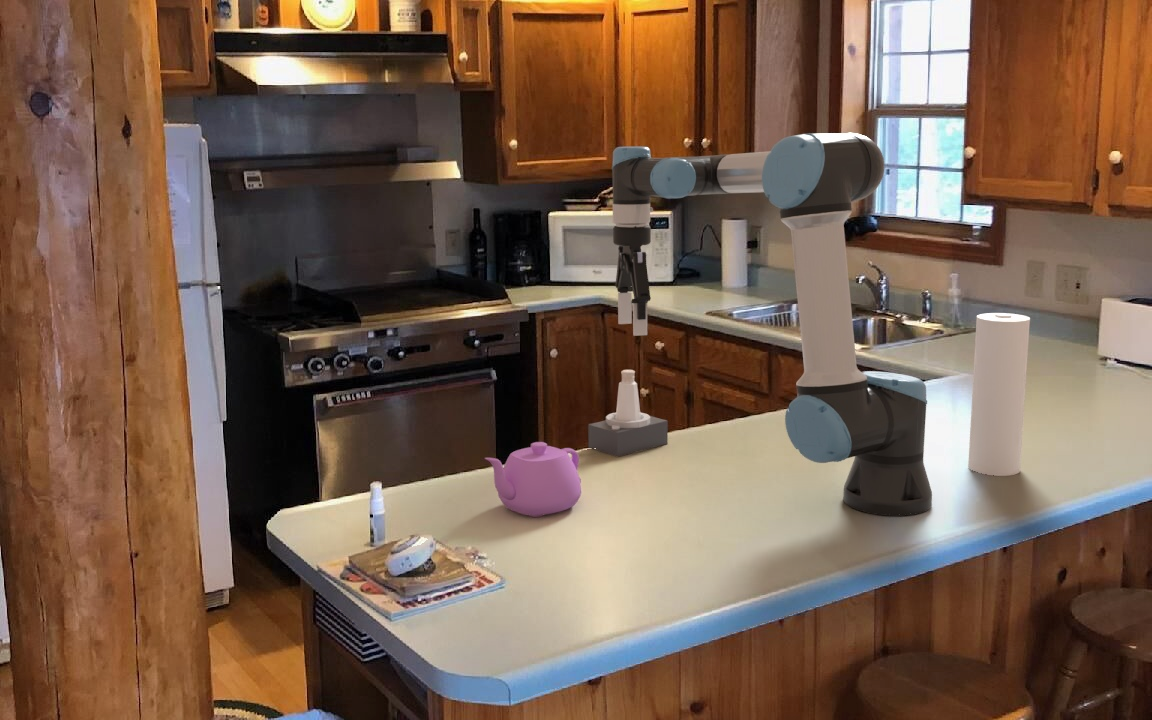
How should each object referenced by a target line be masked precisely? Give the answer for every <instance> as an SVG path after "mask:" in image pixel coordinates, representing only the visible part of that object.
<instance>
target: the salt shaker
mask: <svg viewBox="0 0 1152 720" xmlns="http://www.w3.org/2000/svg"><path fill="white" fill-rule="evenodd" d="M620 373H621V381H620V382H619V383H618V390H617V399H616V400H617V401H616V412H615V413H616V420H620V421H636V420H640V419H641V415H640V412H641V409H640V407H641V405H640V398H639V389H638V388H639V387H638V383H637V382H636V381H635V373H636V371H635V370H633V369H623V370H621V372H620Z"/></svg>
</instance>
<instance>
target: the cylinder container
mask: <svg viewBox="0 0 1152 720" xmlns="http://www.w3.org/2000/svg"><path fill="white" fill-rule="evenodd" d="M1030 323H1031V317H1029V316H1027V315H1023V314H1017V313H1016V314H1015V313H1008V312H1007V313H1005V312H989V313H988V312H986V313H980V314H978V315H976V323H975V325H976V326H975V341H974V342H975V343H974V358H973V359H974V360H973V373H972V374H973V376H972V377H973V378H972V394H971V410H970V411H971V412H970V427H969V429H970V430H969V443H968V444H969V449H968V464H967V467H969V468H970V469H971V470H970V469H969V468H968V469H969V470H970V471H972V470H973V471H972V472H974V471H976V472H975V473H977V472H978V473H977V474H981V473H982V474H981V475H985V474H987V476H993V475H994V476H995V477H1006V476H1014V475H1017V474H1019V473H1020V471H1021V460H1022V459H1021V458H1022V446H1023V427H1024V417H1025V414H1024V412H1025V398H1026V385H1027V384H1026V382H1027V371H1028V369H1027V368H1028V357H1029V356H1028V354H1029V339H1030V338H1029V337H1030Z"/></svg>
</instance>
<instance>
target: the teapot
mask: <svg viewBox="0 0 1152 720" xmlns="http://www.w3.org/2000/svg"><path fill="white" fill-rule="evenodd" d="M570 454H571V456H570ZM484 460H487V461H488V462H490V464H491V466H492V468H493V480H494V486H495V489H496V491H497V496H498V498H499V499H500V501H501V503H502V504H503V505H504V507H505V508H507V509H508V510H511V511H513V512H515V513H517V514H521V515H524V516H530V517H533V518H540V517H543V516H544V515H550V514H555V513H556V514H557V513H559V512H563V511H566V510H569V509H571V508H572V507H574V506H576V504H577V502H578V501H579V499H580V497H581V495H582V484H581V483H582V481H581V478H580V476H579V473H578V468H579V462H580V457H579V454H578V452H577V451H576V450H575V449H573V448H571V447H564V448H561V449H560V448H558V447H555V446H551V445H548V443H546V442H544V441H535V442H532V443H530V447H529V446H528V447H524V448H521V449H517V450H515V451H513V452H511V453H510V454H509V456H508V457H507V459H506V461H505V464H504V466H503V464H502V461H501V460H499V459H498V458H494V457H484Z"/></svg>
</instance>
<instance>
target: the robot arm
mask: <svg viewBox="0 0 1152 720" xmlns="http://www.w3.org/2000/svg"><path fill="white" fill-rule="evenodd" d="M611 171H612V173H611V174H612V176H611V177H612V223H614V224H615V225H614V226H613V228H612V242H613V244H614V245H615V246H618V258H617V267H616V276H615V284H614V287H615V289H616V290H617V313H618V314H617V317H618V318H617V319H618V320H617V322H618V323H617V324H618V325H628V324H632V326H633V327H632V328H633V329H632V331H633V332H632V333H633V337H635V336H638V337H639V336H648V302H650V301H651V293H650V292H651V291H650V283H649V277H648V276H649V275H648V268H647V267H648V266H647V253H646V251H642V246H648V245H650V244H651V239H652V238H651V236H652V235H651V234H652V233H651V227H650V225H648V224H650V222H651V213H652V212H654V208H653V207H652V206H651V197H655V198H664V199H668V200H671V199H682V198H684V197H688V196H690V197H691V196H698V195H699V196H701V195H702V196H703V195H723V194H724V195H726V194H727V195H728V194H743V193H744V194H745V193H746V194H749V193H764V195H765V197H766V198H768V202H770V204H772V205H773V206H774V207H776V208H779V215H780V217H779V218H780V221H781V223H783V224H784V225H786V227H788V228H789V229H790V232H791V233H790V235H791V244H792V255H793V256H792V257H793V265H794V267H793V268H794V277H795V285H796V287H795V288H796V297H797V308H798V316H799V317H798V318H799V319H798V320H799V328H800V329H799V330H800V339H801V348H802V349H801V350H802V358H803V360H802V361H803V369H804V370H803V373H802V375H801V377H799V379H798V380H797V381H796V395H797V396H796V397H795V398H794V399H793V400H791V402H790V403H789V405H788V407H787V408H786V410H785V415H784V417H785V418H784V420H785V421H784V423H785V430H786V434H787V437H788V438H789V440H790V442H791V444H792V445H793V447H794V448H795V449H796V450H798V452H799V453H800V454H801V456H802V457H804V458H805V459H807V460H809V461H811V462H813V463H817V464H827V463H832V462H834V463H839V462H842V461H845V460H847V459H850V458H853V457H854V459H853V463H852V465H851V467H850V470H849V472H848V475H847V478H846V480H845V483H844V486H843V491H842V492H843V495H842V496H843V497H842V500H843V502H844V504H846V505H847V506H849V507H850V508H852V509H854V510H856V511H860V512H864V513H866V514H872V515H882V516H895V517H896V516H899V517H900V516H911V515H918V514H921V513H922V514H923V513H924V512H927V511H928V510H929V509H931V507H932V505H933V504H932V503H933V492H932V487H931V485H930V481H929V477H928V474H927V470H926V467H925V464H924V453H925V436H926V435H925V433H926V418H927V416H926V415H927V404H928V400H927V385H926V383H925V382H924V381H923V380H922V379H920V378H918V377H915V376H911V375H907V374H900V373H896V372H895V373H894V372H887V371H878V370H877V371H875V370H872V371H871V370H869V371H868V370H867V371H865V370H864V371H861V370H860V369H858V368H859V367H858V366H857V358H856V347H855V333H854V324H853V323H854V322H853V313H852V312H853V311H852V304H851V303H852V301H851V300H852V299H851V291H850V281H849V280H850V279H849V269H848V260H847V259H848V258H847V257H848V256H847V249H846V234H845V227H844V225H845V222H846V221H847V219H848V218H849V217H850V216H851V214H852V213H853V210H852V208H853V207H852V203H853V202H858V201H861V200H863V199H866V198H867V197H869V196H870V195H872V194H873V193H874V191H876V190H877V189H878V187H879V186H880V184H881V182H882V180H883V178H884V174H885V160H884V155H883V152H882V151H881V148H880V147H879V146H878V145H877V143H876V142H875V141H873V140H872V139H870V138H869V137H867V136H866V135H862V134H860V133H855V132H842V133H841V132H840V133H835V132H834V133H832V132H831V133H827V132H826V133H810V132H809V133H802V134H797V135H791V136H787V137H784V138H782V139H780V140H779V141H778V142H776V143H775V144H774V145H773V146H772V148H771V150H770V151H759V152H758V151H756V152H745V153H732V154H717V155H716V154H715V155H701V156H676V157H674V156H673V157H652V156H651V149H650V148H649V147H648V146H617V147H615V149H614V150H613V152H612V165H611ZM632 293H633V298H632Z"/></svg>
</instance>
